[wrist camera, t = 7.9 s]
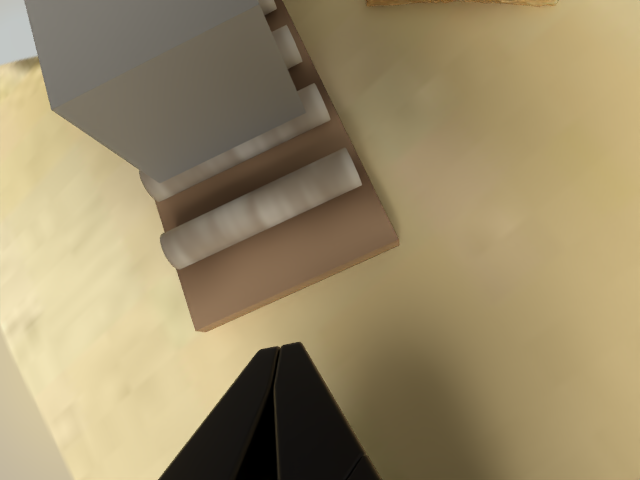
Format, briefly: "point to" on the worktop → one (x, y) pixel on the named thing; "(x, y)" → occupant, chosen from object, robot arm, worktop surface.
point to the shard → (516, 0)
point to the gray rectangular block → (163, 76)
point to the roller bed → (288, 238)
